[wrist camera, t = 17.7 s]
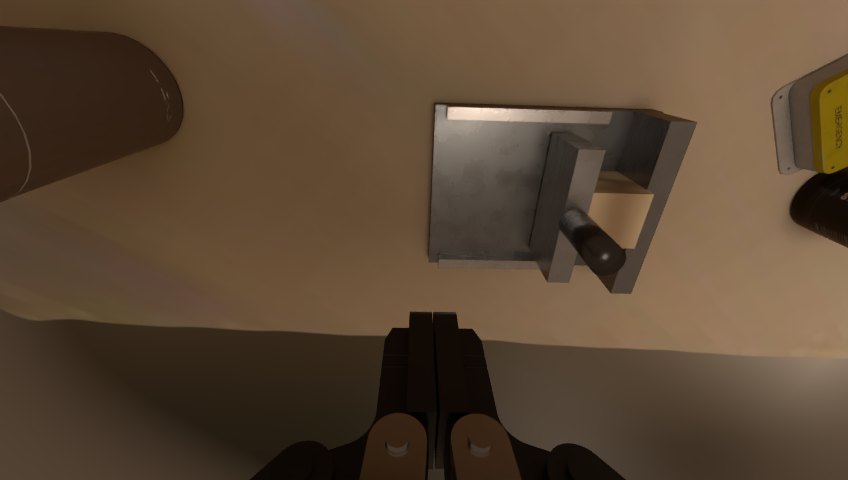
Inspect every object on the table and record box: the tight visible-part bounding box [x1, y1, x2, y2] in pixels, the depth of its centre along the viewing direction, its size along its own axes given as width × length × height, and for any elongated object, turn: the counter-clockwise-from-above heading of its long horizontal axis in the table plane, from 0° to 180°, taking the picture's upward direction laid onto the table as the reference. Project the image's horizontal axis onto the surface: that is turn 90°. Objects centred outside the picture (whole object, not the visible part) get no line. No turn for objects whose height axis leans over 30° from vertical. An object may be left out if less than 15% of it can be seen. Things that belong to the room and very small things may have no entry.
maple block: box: [588, 171, 654, 249], centre depth 32 cm, size 5×5×6 cm
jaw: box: [529, 133, 626, 283], centre depth 29 cm, size 2×12×12 cm, turn 178°
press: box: [428, 103, 697, 294], centre depth 33 cm, size 20×16×6 cm
